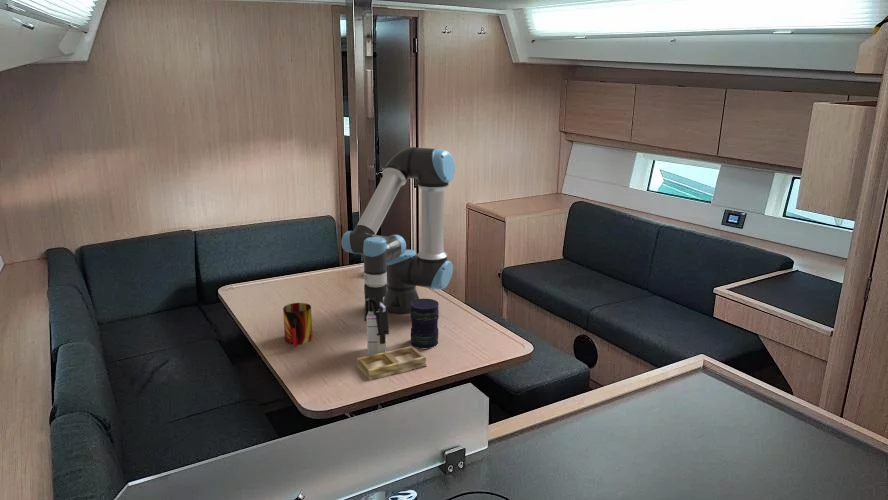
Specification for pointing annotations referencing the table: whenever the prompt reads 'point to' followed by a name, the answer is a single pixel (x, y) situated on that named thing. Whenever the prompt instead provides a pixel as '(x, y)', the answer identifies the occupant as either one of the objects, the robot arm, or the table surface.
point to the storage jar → (424, 323)
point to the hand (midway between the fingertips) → (376, 346)
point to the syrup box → (372, 333)
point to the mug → (297, 323)
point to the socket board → (391, 362)
